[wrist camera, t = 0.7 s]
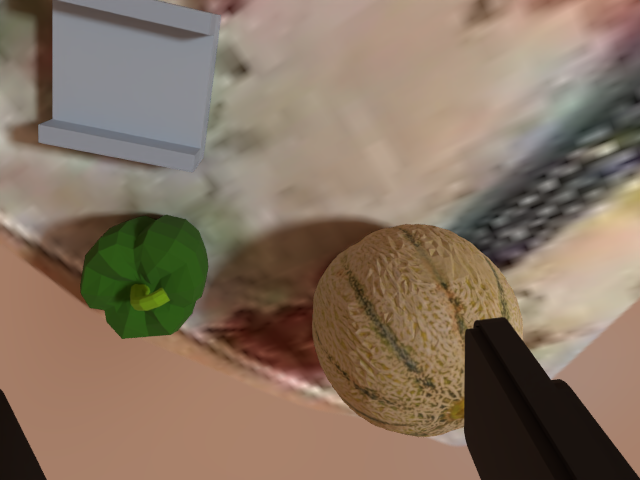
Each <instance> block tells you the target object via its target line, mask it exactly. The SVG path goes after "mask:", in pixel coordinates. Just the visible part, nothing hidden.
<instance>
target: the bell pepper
mask: <svg viewBox="0 0 640 480" xmlns="http://www.w3.org/2000/svg"><path fill="white" fill-rule="evenodd" d="M207 272H208V258H207V253H206V249H205V246H204V243H203V241H202V238H201V236H200V233H199V231H198V230H197V229H196V228H195V227H194V226H193V225H192V224H190V223H189V222H188V221H187V220H186V219H182V218H178V217H173V216H169V215H164V216H162V217H160V218H159V219H157V220H154V219H152V218H150V217H147V216H142V217H138V218H135V219H132V220H129V221H126V222H123V223H121V224H118V225H116V226H114V227H112V228H110V229H109V230H108V231H107V232H106V233H105V234H104V235H103V236H102V237H101V238H100V239H99V240H98V241H97V242H96V243H95V245H94V246H93V247H92V248H91V249H90V250H89V252H88V253H87V254H86V255H85V260H84V266H83V272H82V278H81V283H80V289H81V295H82V296H83V298H84V299H85V301H86V302H87V304H88V306H89V307H90V308H94V309H101V310H105V315H106V321H107V323H108V324H109V325H110V326H111V327H112V328H113V329H114V330H115V332H116V333H117V334H118V335H119V336H120V337H121V338H122V339H125V338H137V337H148V336H161V335H171V334H173V333H174V332H176V331H178V330H179V328H180V327H181V326H182V325H183V324H184V322H185V321H186V320H187V319H188V318H189V317H190V315H191V314H192V312H193V309H194V306H195V303H196V300H198V299H199V298H201V296H202V293H203V290H204V286H205V282H206V277H207Z"/></svg>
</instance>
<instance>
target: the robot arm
mask: <svg viewBox="0 0 640 480" xmlns="http://www.w3.org/2000/svg"><path fill="white" fill-rule="evenodd" d="M464 433H465V439H466V443H467V446H468V449H469V451H470V454H471V456H472V459H473V461H474V464H475V466H476V468H477V471H478V473H479V476H480V478H481V480H640V478H639V477H638V476H637V474H636V473H635V472H634V470H633V469H632V468H631V466H630V465H629V464H628V463H627V461H626V460H625V458H624V457H623V456H622V454H621V453H620V452H619V451H618V449H617V448H616V447H615V445H614V444H613V443H612V441H611V440H610V439H609V437H608V436H607V435H606V433H605V432H604V431H603V430H602V428H601V427H600V426H599V424H598V423H597V422H596V420H595V419H594V418H593V417H592V415H591V414H590V412H589V411H588V410H587V408H586V407H585V406H584V405H583V403H582V402H581V401H580V399H579V398H578V397H577V395H576V394H575V393H574V392H573V390H572V389H571V388H570V386H568V384H567V383H566V382H564V381H562V380H560V379H557V380H551V379H550V378H549V377H548V375H547V374H546V372H545V371H544V370H543V368H542V367H541V365H540V364H539V363H538V361H537V360H536V359H535V357H534V356H533V354H532V353H531V352H530V350H529V349H528V347H527V346H526V345H525V343H524V342H523V341H522V339H521V338H520V336H519V335H518V334H517V332H516V331H515V329H514V328H513V327H512V325H511V324H510V323H509V321H508V320H507V319H506V318H505V317H498V318H490V319H482V320H476V321H475V322H474V325H473V328H470V329H466V331H465V374H464ZM0 480H47V479H46V477H45V475H44V473H43V471H42V470H41V467H40V465H39V463H38V461H37V459H36V457H35V455H34V453H33V451H32V449H31V447H30V445H29V443H28V441H27V439H26V437H25V435H24V433H23V431H22V429H21V427H20V425H19V423H18V421H17V419H16V417H15V415H14V413H13V411H12V409H11V407H10V405H9V403H8V401H7V399H6V397H5V395H4V393H3V391H2V390H1V389H0Z"/></svg>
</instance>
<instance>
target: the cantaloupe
mask: <svg viewBox="0 0 640 480" xmlns="http://www.w3.org/2000/svg"><path fill="white" fill-rule="evenodd" d="M498 317H505V318H506V319H507V320H508V321H509V323H510V324H511V325H512V327H513V328H514V329H515V331H516V332H517V334H518V335H519V336H520V338H521V339H522V341H523V324H522V317H521V312H520V309H519V306H518V302H517V298H516V297H515V295H514V292H513V290H512V288H511V287H510V285H509V284H508V282H507V280H506V278H505V277H504V276H503V274H502V273H501V272H500V270H499V268H497V267H496V266H495V265H494V264H493V263H492V262H491V260H490V259H489V258H488V257H486V256H485V255H484V254H483V253H481V252H480V251H479V250H478V249H477V248H476V247H475V246H474V245H473V244H472V243H470V242H468V241H467V240H466V239H464V238H461V237H459V236H458V235H457V234H455V233H453V232H451V231H449V230H446V229H442V228H439V227H435V226H430V225H419V224H415V225H410V224H405V225H400V226H396V227H393V228H384V229H380V230H377V231H375V232H372V233H371V234H369V235H367V236H365V237H364V238H363V239H362V240H361V241H360V242H358V243H356V244H354V245H352V246H349V248H348V249H346V250H345V251H343V252H341V253H340V254H339V255H338V256H337V257H336V258H335V259H334V260H333V261H332V262H331V263H330V265H329V266H328V268H327V269H326V271H325V272H324V274H323V275H322V277H321V279H320V280H319V283H318V285H317V288H316V290H315V293H314V298H313V315H312V318H313V321H312V334H313V341H314V346H315V350H316V353H317V355H318V359H319V362H320V365H321V367H322V369H323V371H324V373H325V375H326V377H327V379H328V380H329V382H330V383H331V384H332V387H333V388H334V389H335V390H336V392H337V393H338V395H339V396H340V397H341V399H342V400H343V401H344V403H346V404H347V405H348V406H349V408H350V409H352V410H353V411H354V412H355V413H357V414H358V415H359V416H360V417H362V418H364V419H365V420H367V421H368V422H370V423H371V424H373V425H375V426H378V427H381V428H384V429H386V430H389V431H394V432H397V433H402V434H405V435H412V436H417V437H430V436H437V435H442V434H444V433H447V432H449V431H452V430H455V429H459V428H462V427H464V374H465V331H466V329H470V328H473V325H474V322H475V321H476V320H482V319H490V318H498Z"/></svg>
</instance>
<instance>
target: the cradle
mask: <svg viewBox="0 0 640 480" xmlns="http://www.w3.org/2000/svg"><path fill="white" fill-rule="evenodd" d="M220 19H221V15H217V14H213V13H209V12H204V11H200V10H196V9H192V8H187V7H183V6H179V5H175V4H171V3H166V2H162V1H158V0H53V119H51V120H49V121H46V122H43V123H41V124H38V143H43V144H48V145H53V146H58V147H64V148H69V149H74V150H79V151H84V152H90V153H95V154H100V155H105V156H110V157H116V158H121V159H126V160H131V161H136V162H142V163H147V164H152V165H157V166H162V167H168V168H173V169H178V170H183V171H188V172H194V170H195V169H196V168H197V166H198V165H199V163H200V162H201V160H202V159H203V156H204V148H205V140H206V132H207V124H208V116H209V108H210V100H211V92H212V84H213V75H214V67H215V59H216V51H217V43H218V35H219V27H220Z"/></svg>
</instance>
